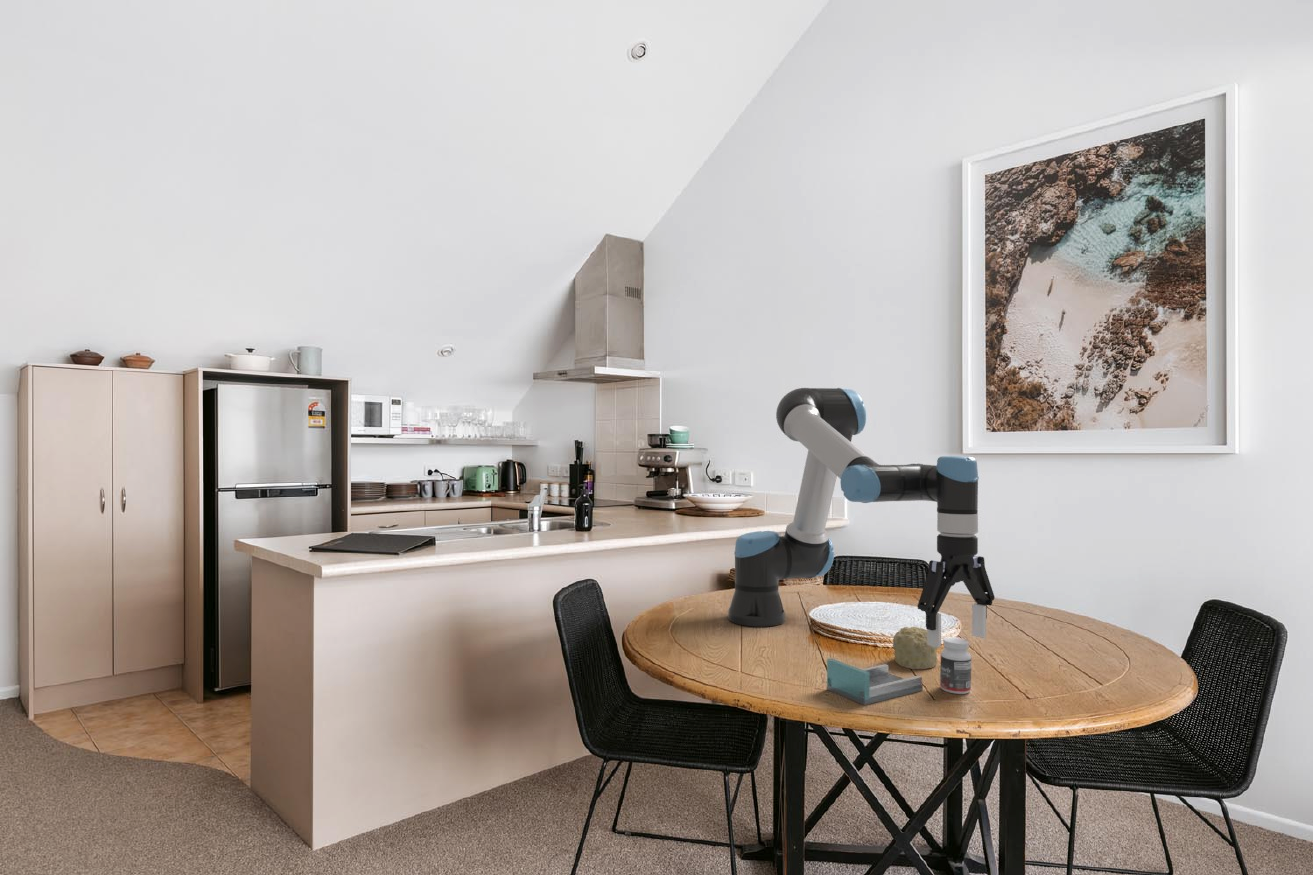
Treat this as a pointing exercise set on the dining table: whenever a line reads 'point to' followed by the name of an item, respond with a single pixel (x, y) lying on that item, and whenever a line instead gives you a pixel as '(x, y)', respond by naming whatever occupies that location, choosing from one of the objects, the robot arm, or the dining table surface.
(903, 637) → the decorative object
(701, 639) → the dining table surface
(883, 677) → the grey tray holder
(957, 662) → the pill bottle
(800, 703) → the dining table surface
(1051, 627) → the dining table surface
